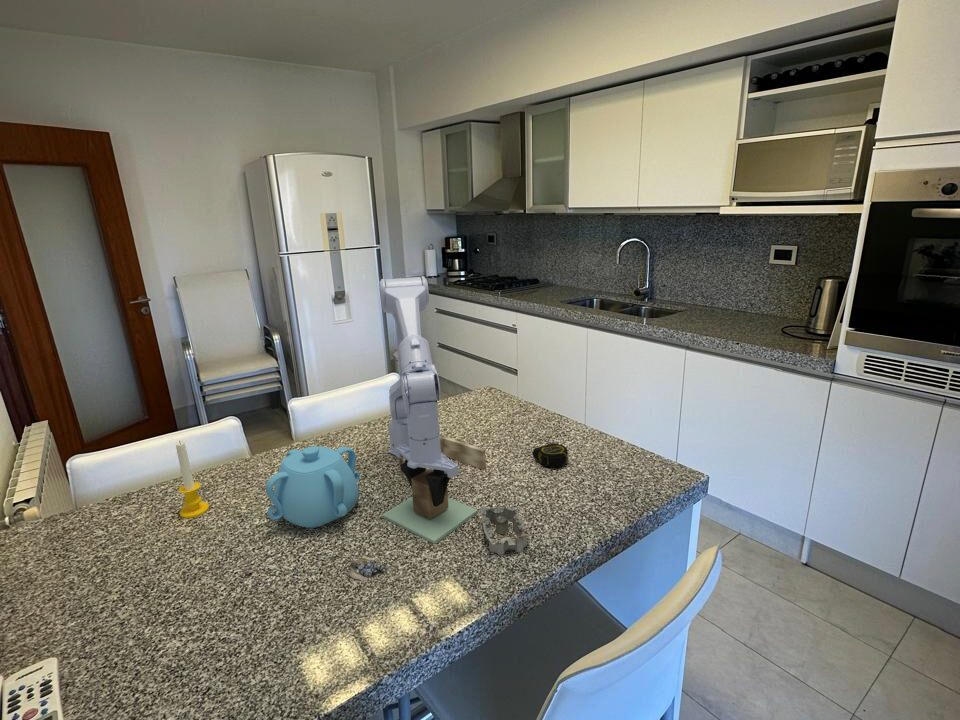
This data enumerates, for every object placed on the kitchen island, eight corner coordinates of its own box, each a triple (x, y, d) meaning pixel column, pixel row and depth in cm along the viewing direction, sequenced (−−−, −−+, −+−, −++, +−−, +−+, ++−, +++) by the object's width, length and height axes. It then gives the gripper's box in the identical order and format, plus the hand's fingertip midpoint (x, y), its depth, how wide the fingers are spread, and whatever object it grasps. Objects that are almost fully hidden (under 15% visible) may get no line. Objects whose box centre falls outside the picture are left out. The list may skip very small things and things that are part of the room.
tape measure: (557, 454, 121) (557, 439, 120) (573, 466, 115) (573, 451, 114) (532, 460, 118) (532, 445, 117) (547, 473, 112) (547, 457, 111)
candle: (213, 510, 103) (198, 439, 99) (185, 521, 99) (168, 448, 95) (203, 501, 106) (189, 432, 102) (176, 511, 103) (160, 441, 98)
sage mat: (382, 517, 98) (382, 514, 98) (426, 490, 107) (426, 488, 107) (434, 544, 89) (434, 541, 89) (477, 512, 98) (477, 509, 98)
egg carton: (530, 553, 86) (529, 533, 85) (487, 558, 86) (486, 537, 85) (518, 518, 96) (518, 499, 95) (480, 522, 96) (479, 503, 94)
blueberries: (354, 557, 87) (353, 548, 87) (400, 557, 87) (399, 547, 87) (342, 585, 81) (341, 575, 80) (392, 584, 81) (391, 574, 80)
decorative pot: (259, 535, 94) (247, 469, 90) (296, 489, 109) (287, 431, 106) (345, 537, 93) (336, 470, 89) (370, 490, 108) (364, 431, 104)
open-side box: (401, 476, 113) (399, 458, 112) (444, 452, 123) (442, 435, 122) (443, 494, 105) (442, 474, 104) (485, 467, 115) (485, 449, 114)
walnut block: (413, 511, 98) (411, 478, 96) (431, 500, 101) (430, 468, 99) (430, 519, 95) (428, 485, 93) (448, 507, 98) (446, 475, 97)
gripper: (381, 432, 95) (387, 496, 99) (437, 452, 86) (442, 522, 90) (409, 420, 100) (414, 481, 104) (464, 437, 91) (468, 504, 95)
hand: (429, 499), depth 97 cm, fingers closed on walnut block, 4 cm apart
